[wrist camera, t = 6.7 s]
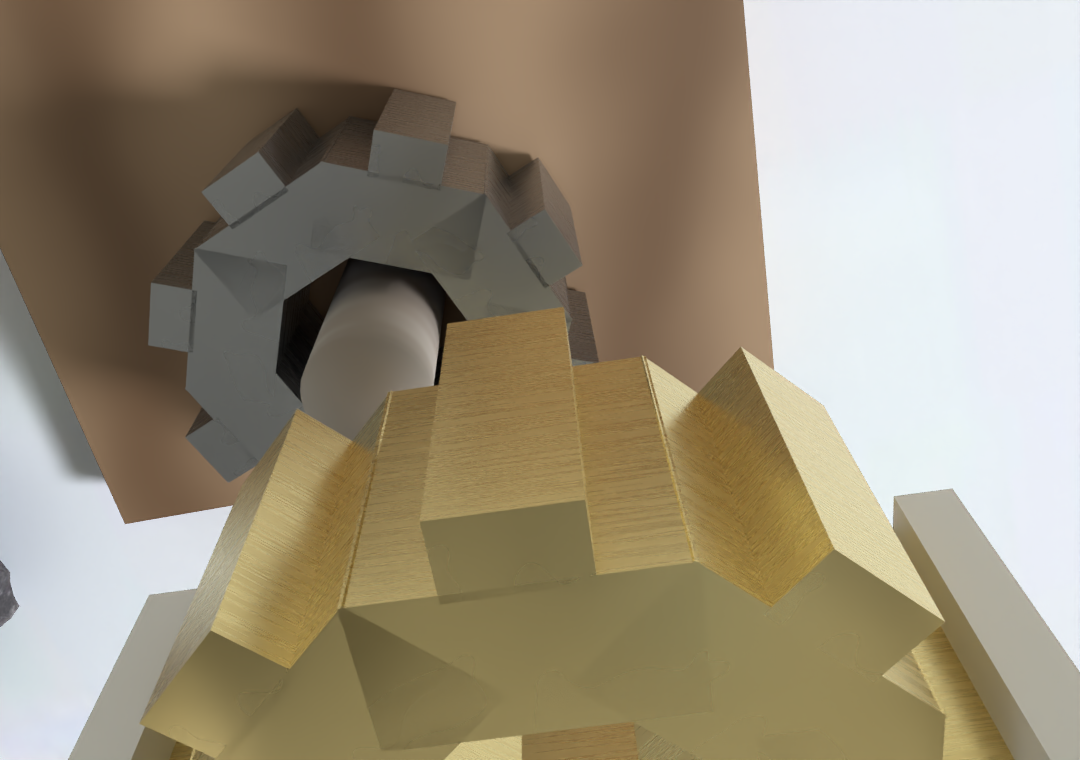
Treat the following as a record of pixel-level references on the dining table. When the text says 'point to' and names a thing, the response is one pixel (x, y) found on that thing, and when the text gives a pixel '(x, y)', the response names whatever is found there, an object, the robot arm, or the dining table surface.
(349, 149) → the grey gear
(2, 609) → the rock
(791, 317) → the dining table surface
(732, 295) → the board
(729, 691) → the brass gear
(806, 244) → the dining table surface
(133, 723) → the robot arm
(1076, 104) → the dining table surface
